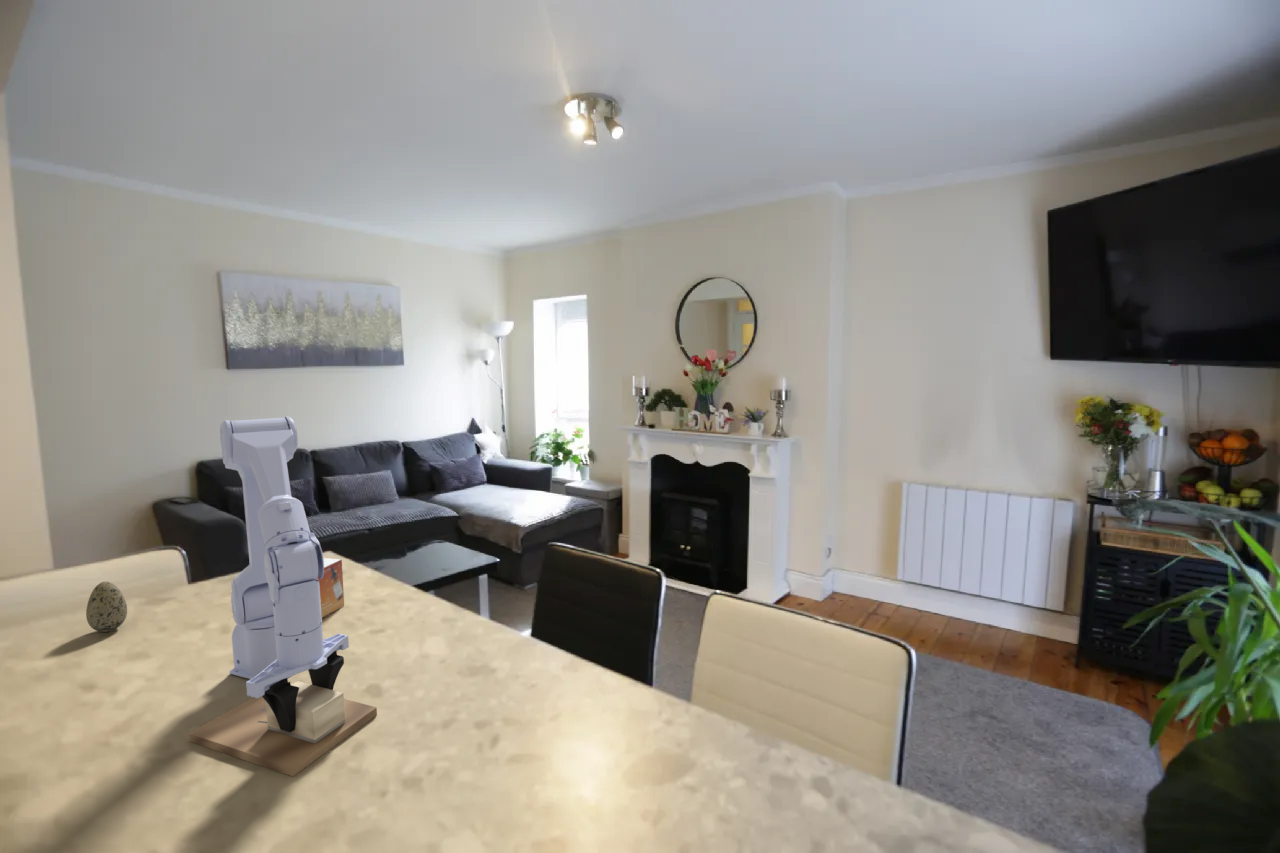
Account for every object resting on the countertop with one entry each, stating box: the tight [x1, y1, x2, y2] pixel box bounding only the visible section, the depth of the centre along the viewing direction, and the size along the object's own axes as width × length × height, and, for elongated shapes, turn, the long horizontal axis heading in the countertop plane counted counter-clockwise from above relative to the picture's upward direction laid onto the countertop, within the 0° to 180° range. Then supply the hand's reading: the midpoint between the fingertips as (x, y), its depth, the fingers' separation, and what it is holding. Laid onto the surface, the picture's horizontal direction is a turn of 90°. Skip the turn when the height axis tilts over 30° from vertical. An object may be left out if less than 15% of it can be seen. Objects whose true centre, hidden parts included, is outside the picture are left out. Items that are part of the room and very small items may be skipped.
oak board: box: [188, 696, 378, 777], centre depth 85 cm, size 20×14×1 cm
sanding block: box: [266, 680, 345, 743], centre depth 83 cm, size 9×5×4 cm, turn 69°
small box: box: [317, 557, 345, 619], centre depth 124 cm, size 8×6×10 cm
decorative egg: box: [85, 581, 128, 633], centre depth 115 cm, size 6×6×10 cm
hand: (305, 717), depth 84 cm, fingers closed on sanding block, 5 cm apart
